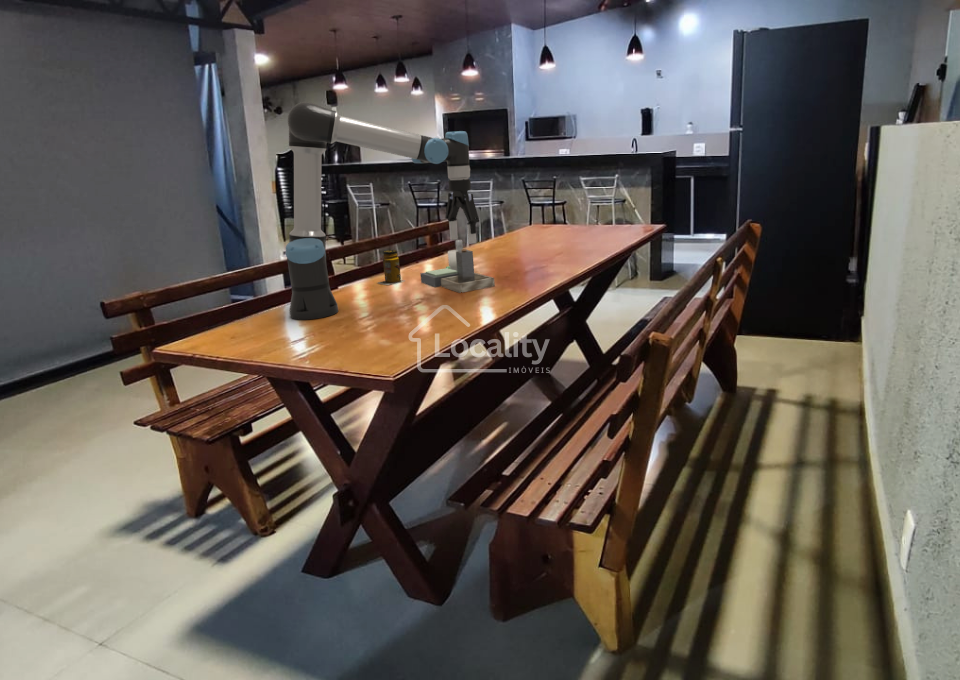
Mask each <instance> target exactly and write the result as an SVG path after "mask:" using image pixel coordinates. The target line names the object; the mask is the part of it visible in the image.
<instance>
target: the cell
mask: <svg viewBox="0 0 960 680" xmlns="http://www.w3.org/2000/svg"><path fill="white" fill-rule="evenodd" d="M461 250H462V251H457V252H456V261H457V273H458V283H465V282H471V281H475V276H474V273H475V265H474V263H475V262H474V251H472V250H469V249H467V248H463V249H461Z"/></svg>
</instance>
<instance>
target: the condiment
mask: <svg viewBox="0 0 960 680" xmlns="http://www.w3.org/2000/svg"><path fill="white" fill-rule="evenodd" d="M382 254H383V255H382V256H383V259H382V263H383V272H384V279H385V280H383V281H378V282H377V284H380V285H384V286H385V285H386V286H390V285H395V284H398V283H403V282H405V280H402V278H401V277H402V276H401V268H400V265H401V264H400V258H399V256H398V250H397V249H388V250H384V251H383V252H382Z"/></svg>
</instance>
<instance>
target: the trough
mask: <svg viewBox="0 0 960 680" xmlns="http://www.w3.org/2000/svg"><path fill="white" fill-rule="evenodd" d="M474 276H475V281H471V282H465V283H458V276H453V277H447V278H441V286H440V287H441V288H443V287H444V288H445V289H447V290H450V291H451V292H452V291H453V292H456V293H459V294H460V293H461V292H462V293H466V292H472V291H476V290H481V289H482V290H483V289H487V288H492V287H495V285H496V284H495V277H493V276H489V275H485V274H481V273H477V272H474Z"/></svg>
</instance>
